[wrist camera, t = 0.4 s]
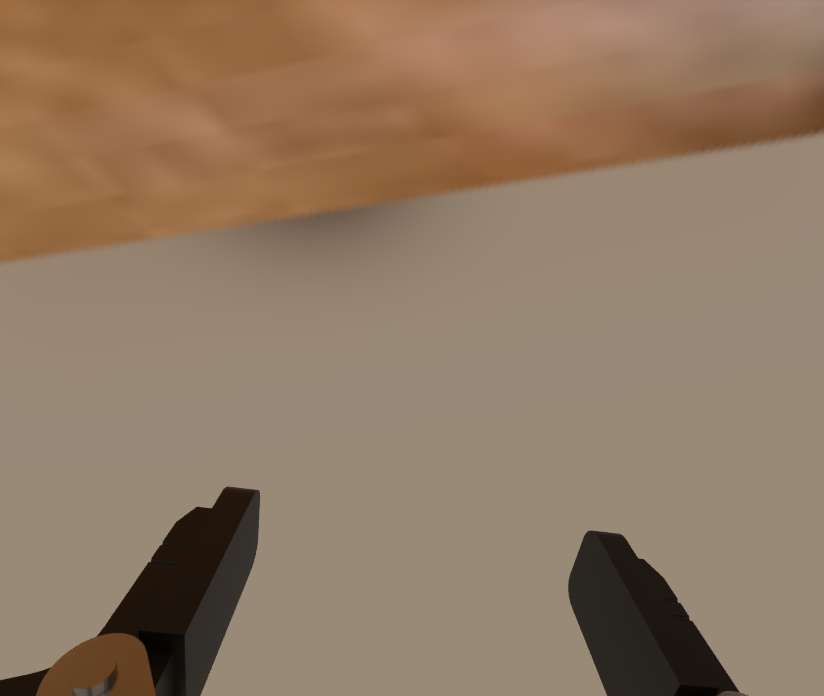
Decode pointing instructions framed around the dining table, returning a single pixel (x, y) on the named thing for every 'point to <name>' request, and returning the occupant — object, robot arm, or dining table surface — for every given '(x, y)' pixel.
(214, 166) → the dining table surface
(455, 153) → the dining table surface
